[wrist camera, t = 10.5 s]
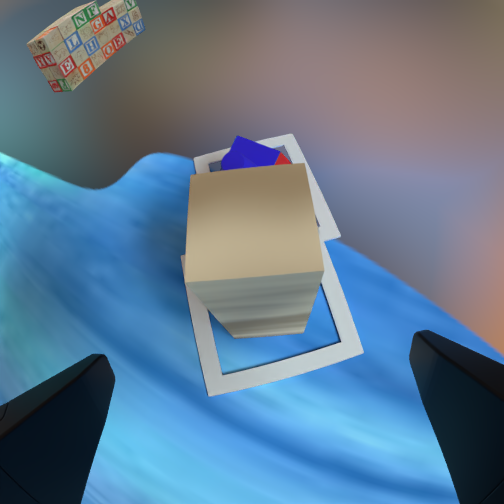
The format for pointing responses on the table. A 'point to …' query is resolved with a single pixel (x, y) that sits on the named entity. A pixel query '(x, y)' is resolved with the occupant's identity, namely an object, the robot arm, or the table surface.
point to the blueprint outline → (329, 282)
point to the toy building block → (251, 155)
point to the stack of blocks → (84, 41)
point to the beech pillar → (254, 248)
